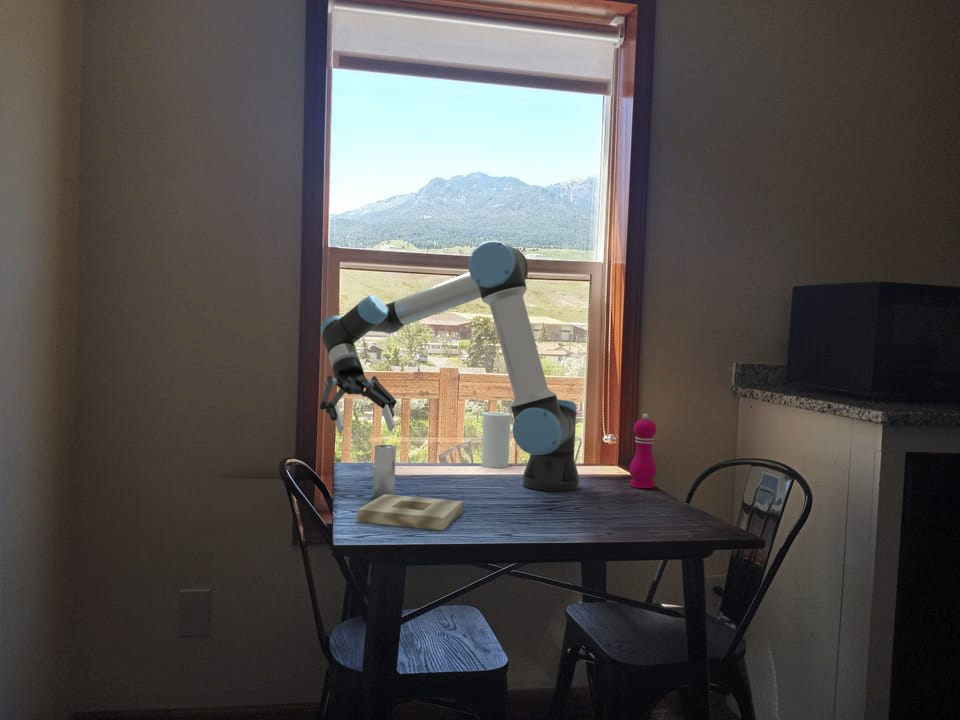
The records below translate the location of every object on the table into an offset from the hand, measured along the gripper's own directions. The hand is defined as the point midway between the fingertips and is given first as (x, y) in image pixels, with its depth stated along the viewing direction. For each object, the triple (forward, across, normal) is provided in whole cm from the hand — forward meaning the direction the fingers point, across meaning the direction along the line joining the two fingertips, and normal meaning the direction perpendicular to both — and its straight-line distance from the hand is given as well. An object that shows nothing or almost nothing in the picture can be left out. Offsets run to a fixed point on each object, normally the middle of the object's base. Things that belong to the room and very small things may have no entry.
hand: (367, 429), depth 180 cm
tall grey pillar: (+18, 0, -3) cm, 18 cm away
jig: (+32, +3, +11) cm, 34 cm away
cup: (-1, -50, -23) cm, 55 cm away
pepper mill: (+28, -70, +7) cm, 76 cm away
